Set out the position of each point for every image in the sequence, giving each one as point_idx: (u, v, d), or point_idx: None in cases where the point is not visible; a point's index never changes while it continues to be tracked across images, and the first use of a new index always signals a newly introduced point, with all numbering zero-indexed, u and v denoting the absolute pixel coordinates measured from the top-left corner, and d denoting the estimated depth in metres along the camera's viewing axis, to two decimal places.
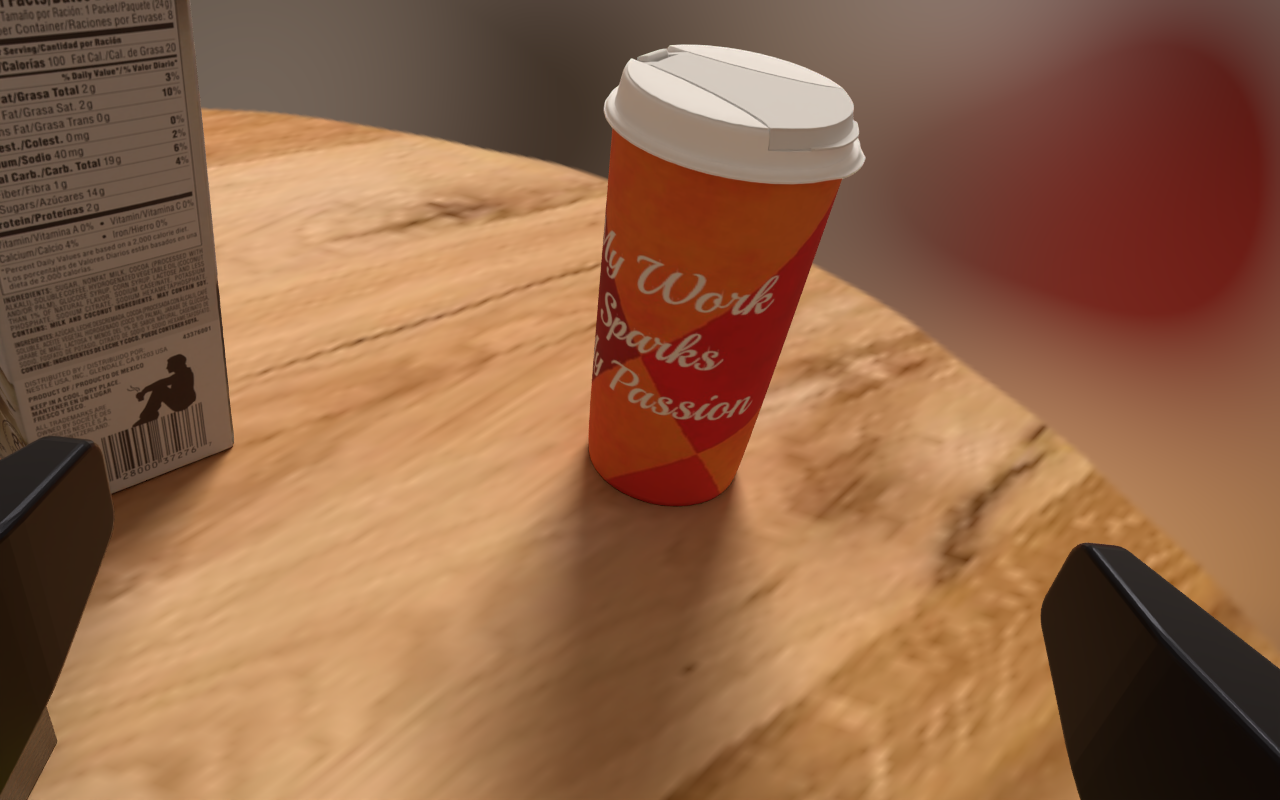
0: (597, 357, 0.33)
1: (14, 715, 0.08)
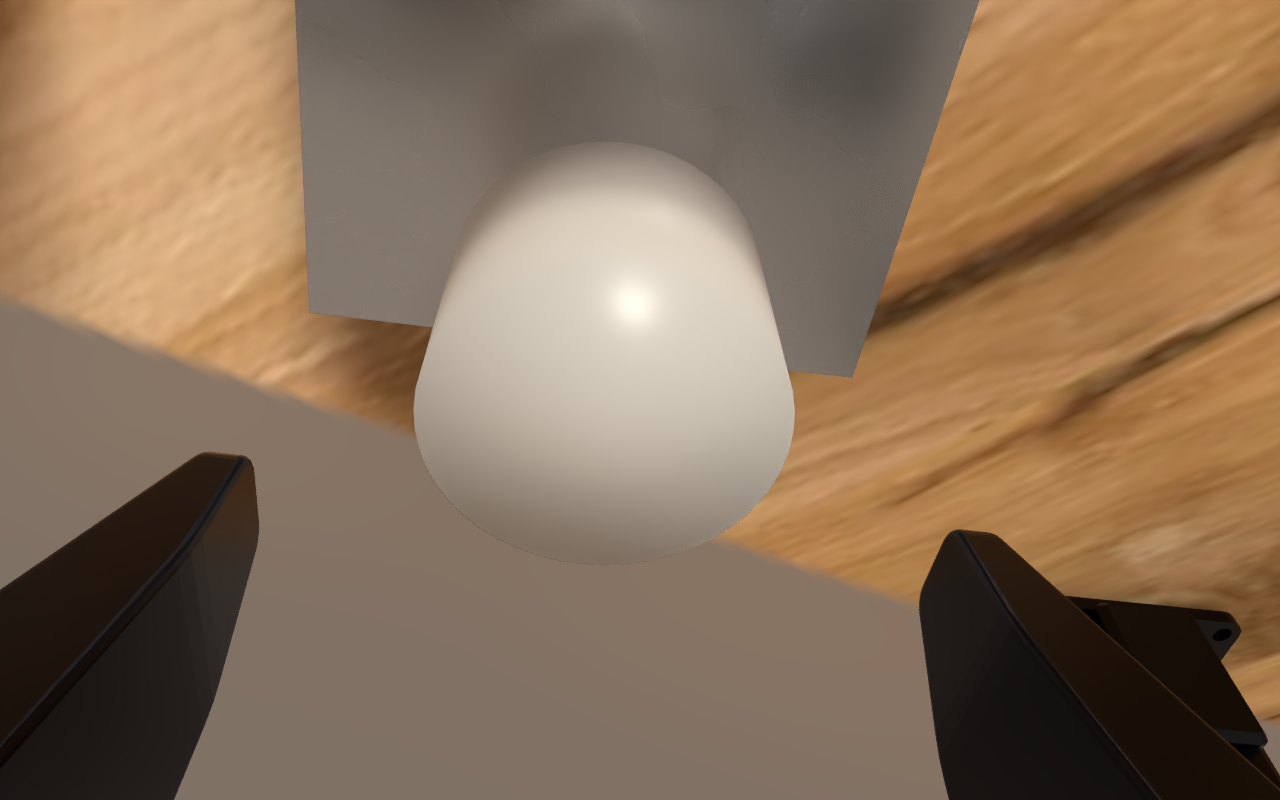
0: None
1: (184, 728, 0.08)
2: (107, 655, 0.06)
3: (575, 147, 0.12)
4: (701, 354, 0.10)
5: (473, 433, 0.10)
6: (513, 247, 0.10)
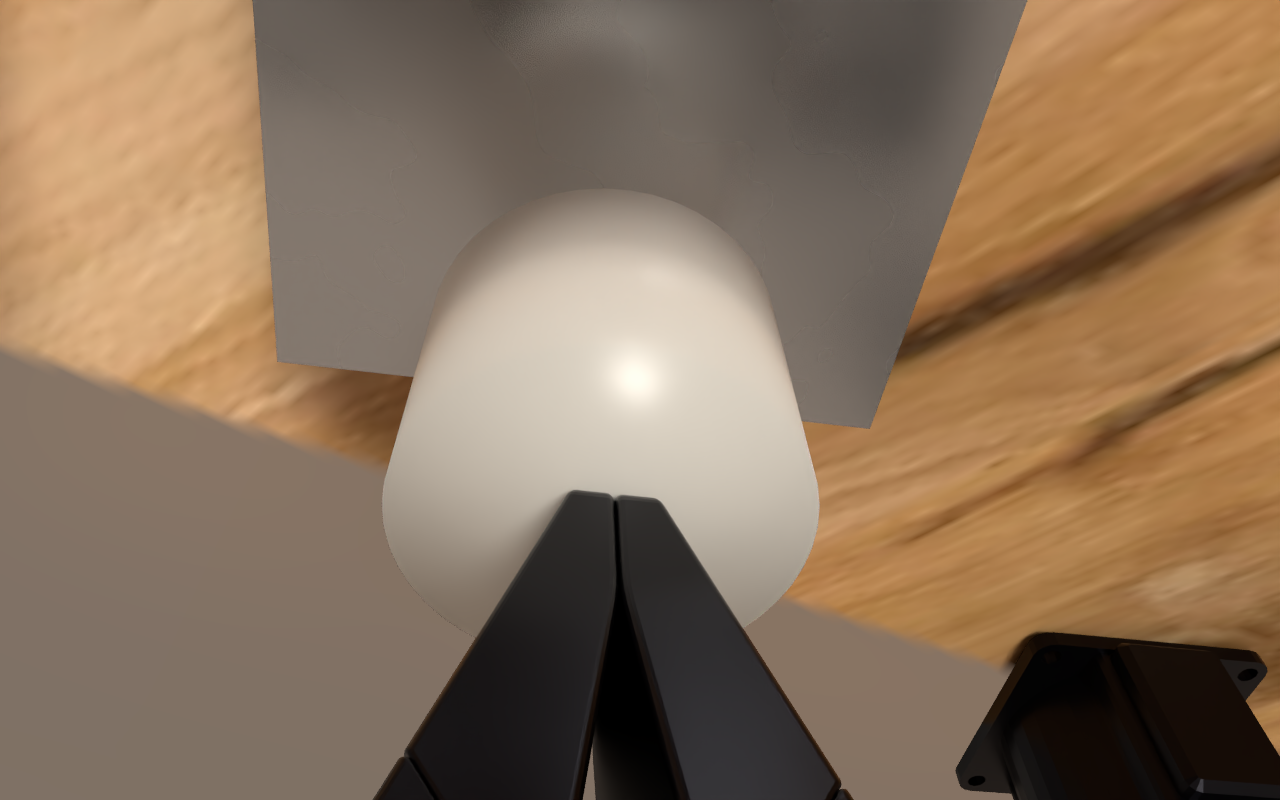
0: None
1: None
2: (599, 695, 0.07)
3: (568, 194, 0.10)
4: (713, 444, 0.09)
5: (451, 530, 0.09)
6: (496, 321, 0.09)
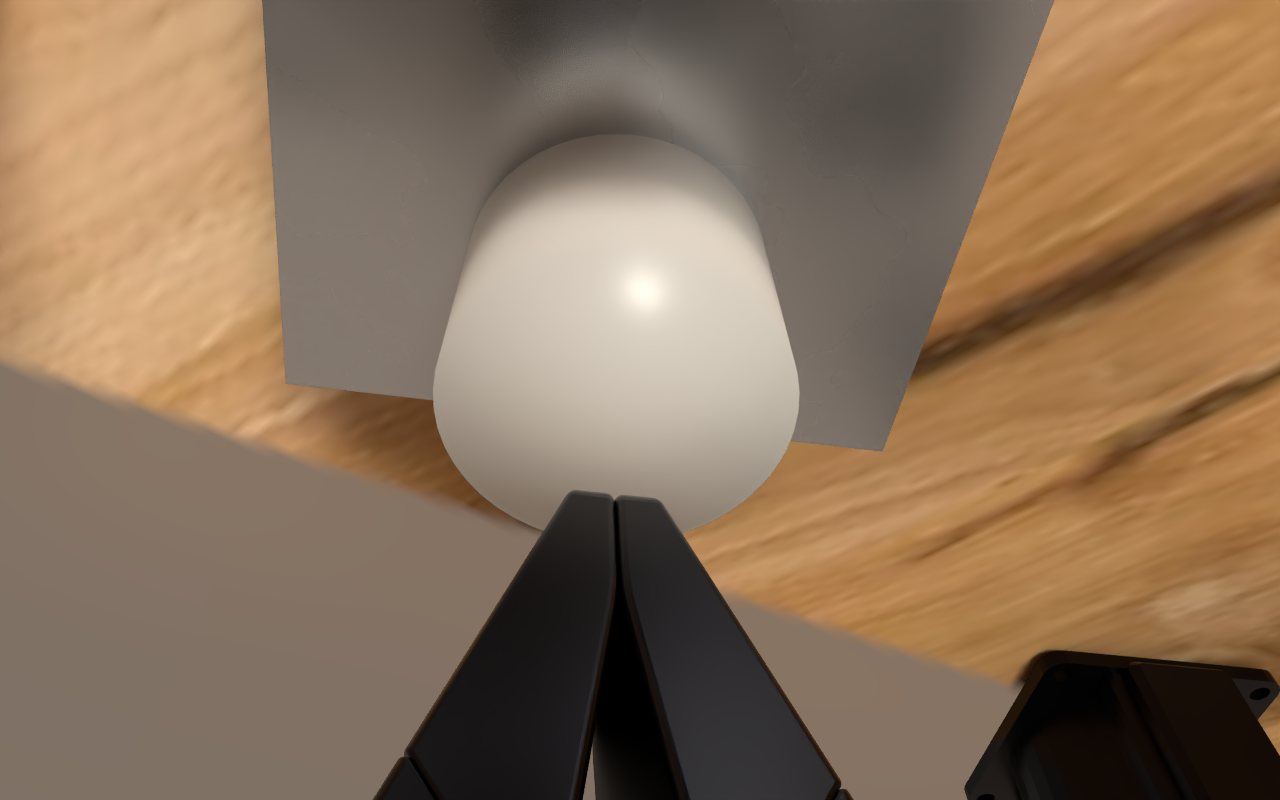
0: None
1: None
2: (599, 695, 0.07)
3: (587, 139, 0.12)
4: (709, 337, 0.10)
5: (490, 413, 0.11)
6: (529, 234, 0.10)
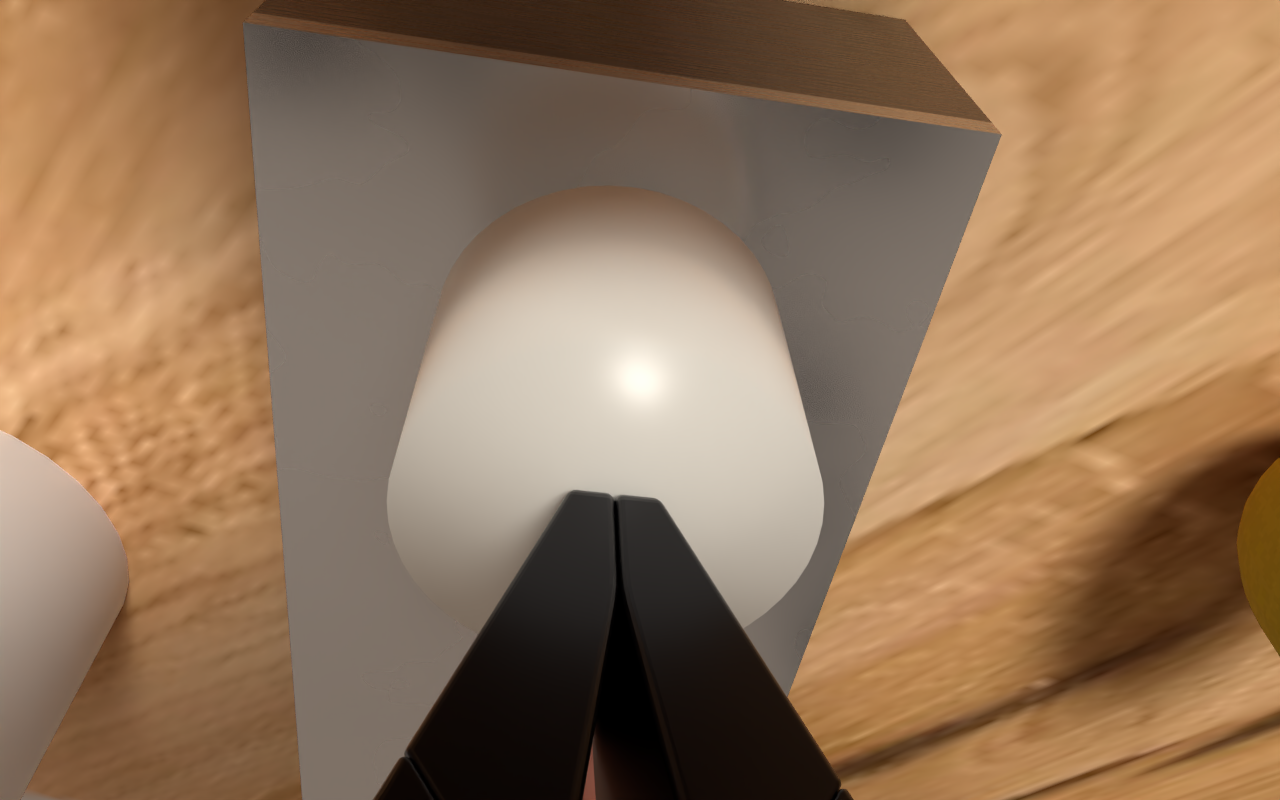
0: None
1: None
2: (599, 696, 0.07)
3: None
4: None
5: None
6: None
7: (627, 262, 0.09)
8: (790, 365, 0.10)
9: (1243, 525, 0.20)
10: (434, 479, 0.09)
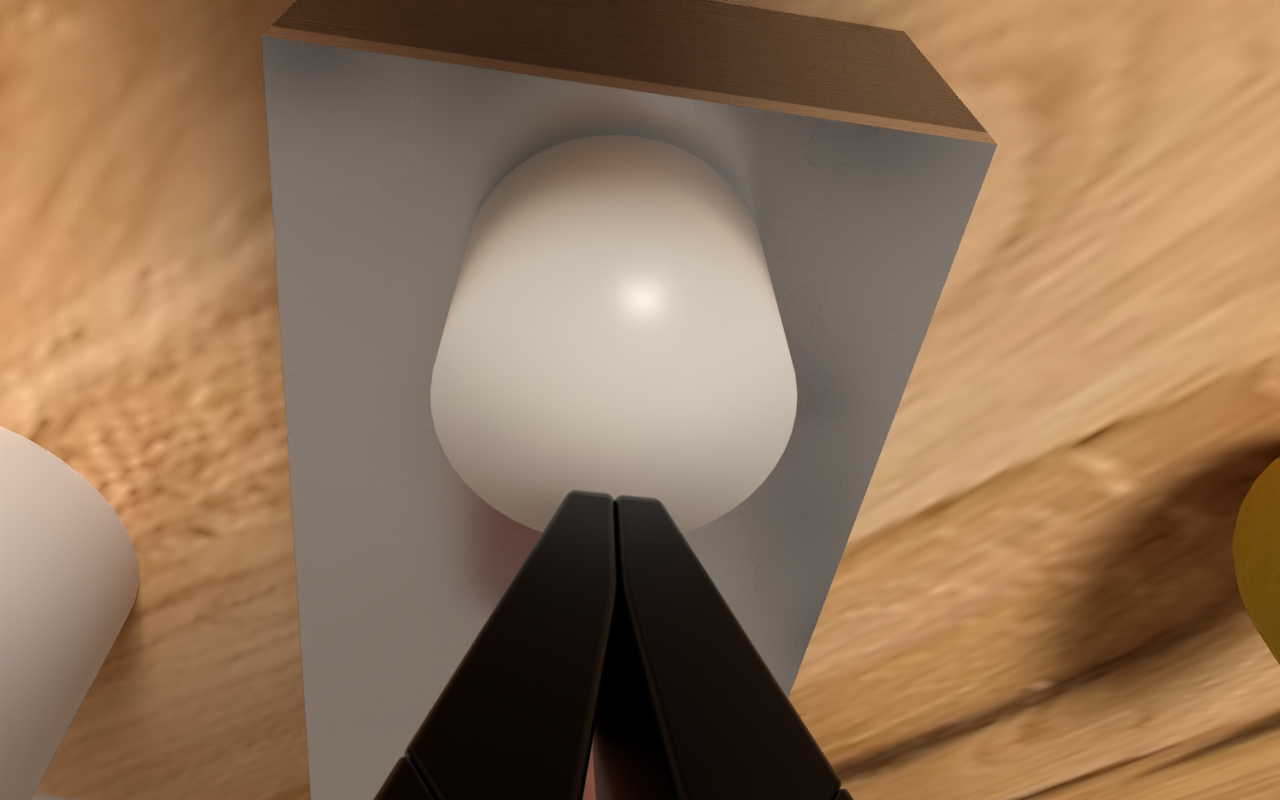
0: None
1: None
2: (599, 695, 0.07)
3: None
4: None
5: None
6: None
7: (632, 192, 0.11)
8: (770, 284, 0.12)
9: (1238, 527, 0.20)
10: (470, 371, 0.11)
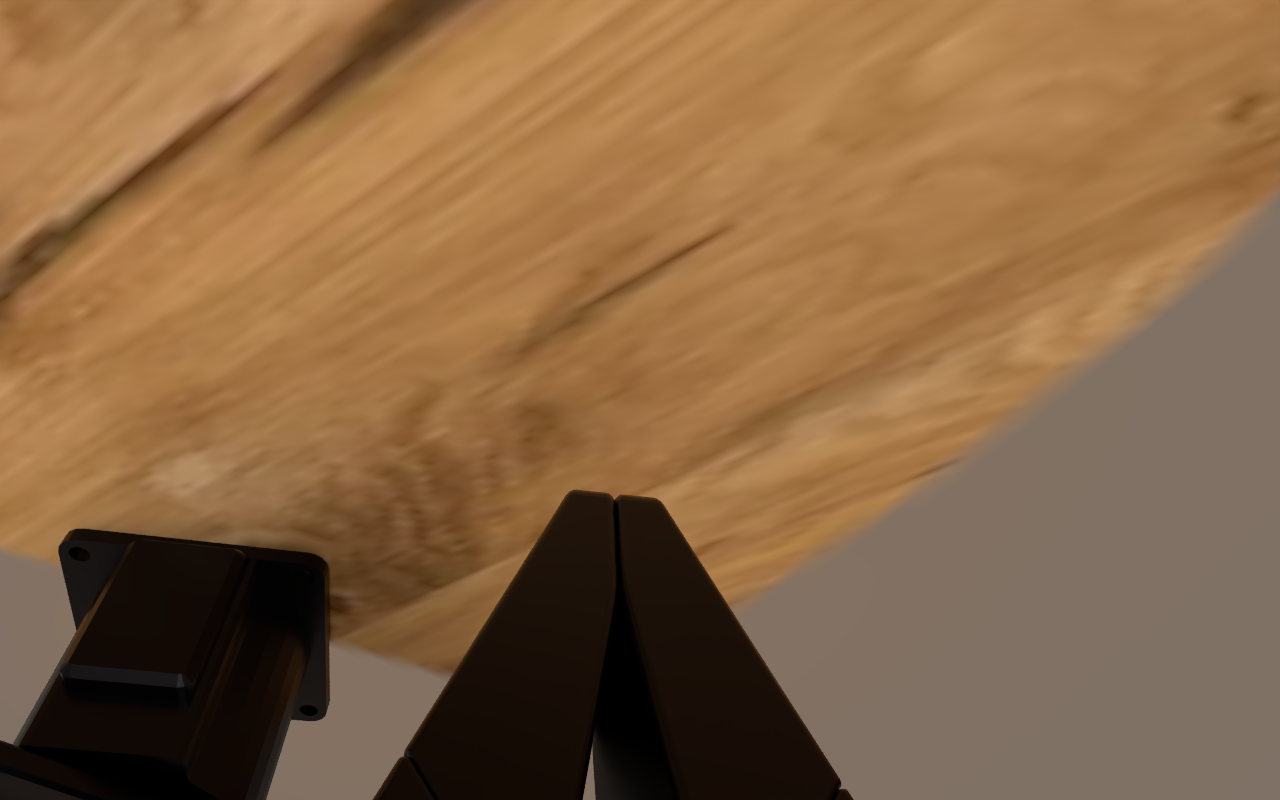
0: None
1: None
2: (599, 695, 0.07)
3: None
4: None
5: None
6: None
7: None
8: None
9: None
10: None
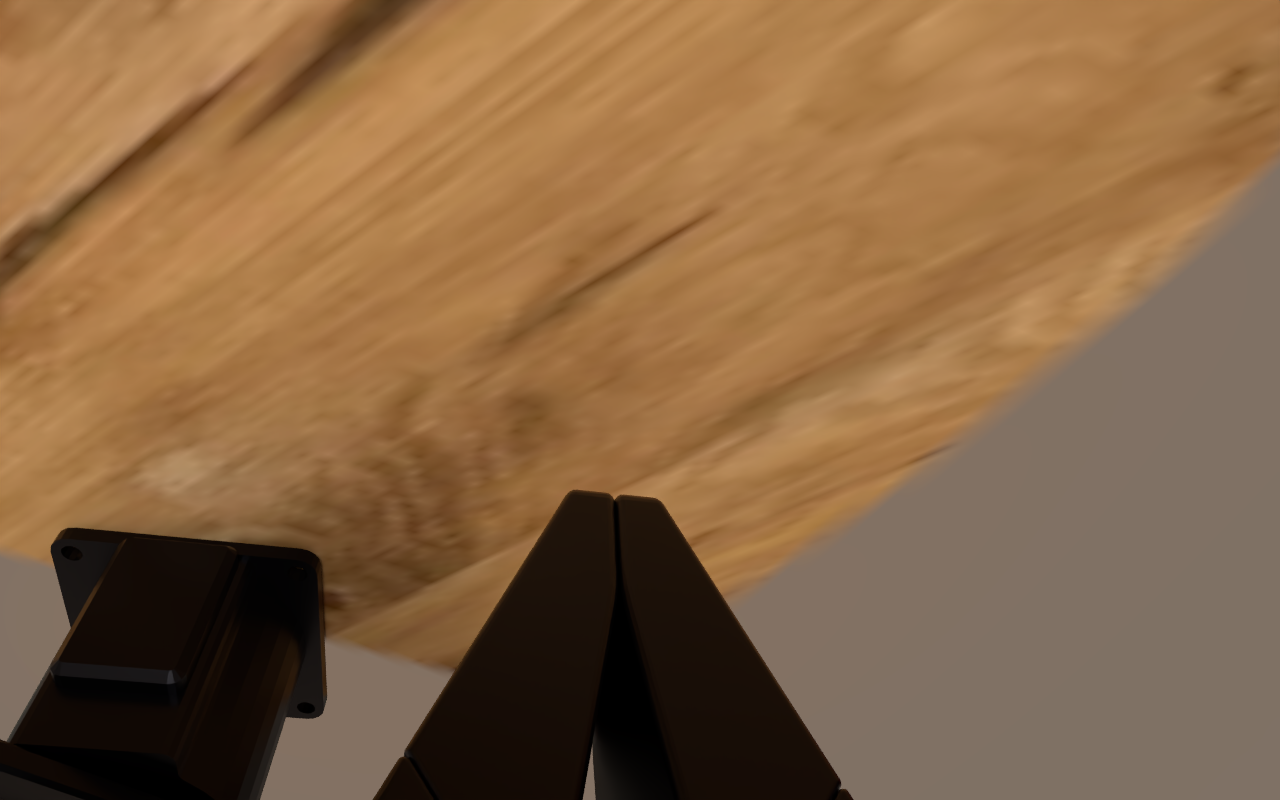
0: None
1: None
2: (599, 696, 0.07)
3: None
4: None
5: None
6: None
7: None
8: None
9: None
10: None
